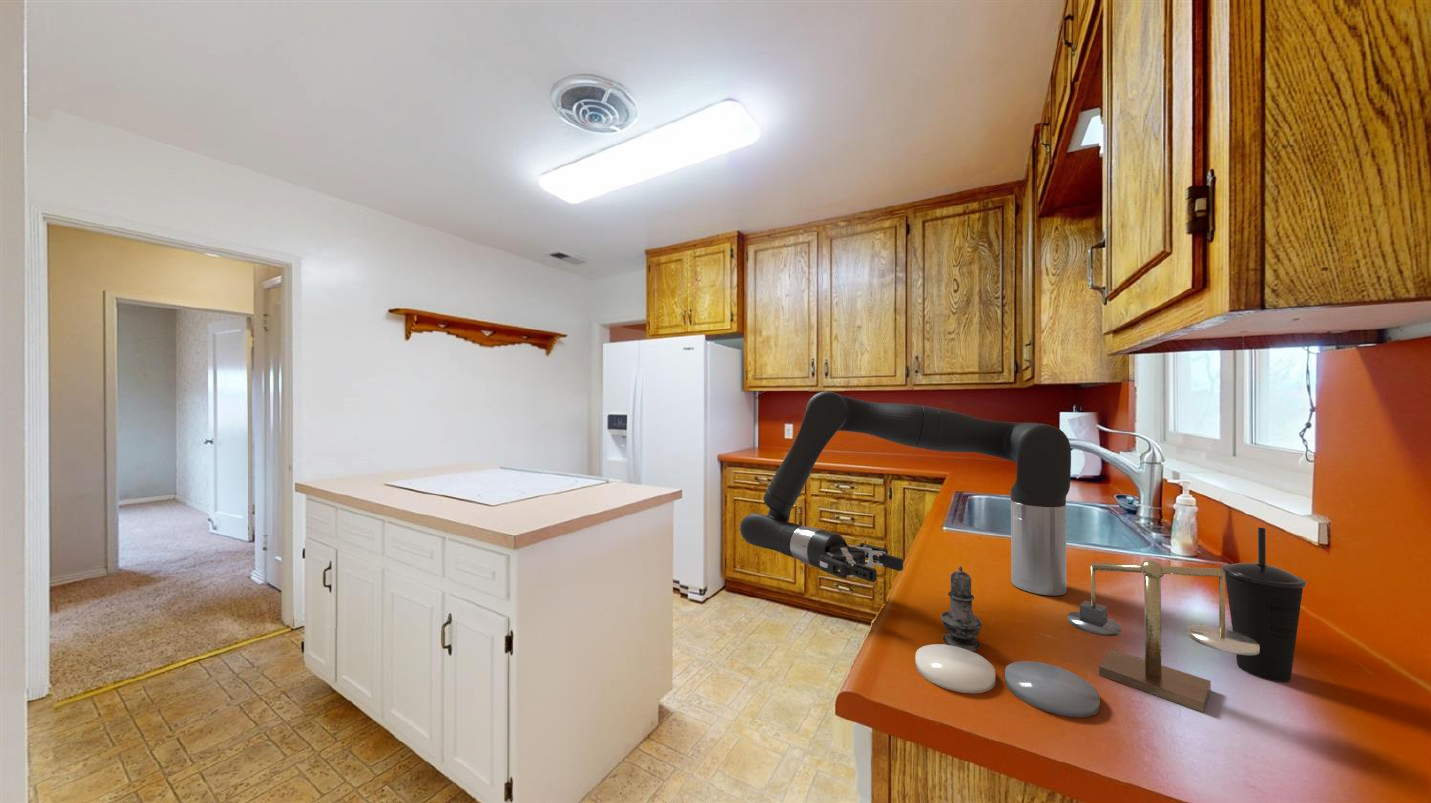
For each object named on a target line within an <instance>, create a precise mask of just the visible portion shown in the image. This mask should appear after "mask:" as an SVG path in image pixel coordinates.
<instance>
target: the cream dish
mask: <svg viewBox="0 0 1431 803" xmlns="http://www.w3.org/2000/svg"><path fill="white" fill-rule="evenodd" d="M914 657H915V668H916V670H917V672H918V673H919V674H920V675H921V676H922V677H923V678H925V680H927V681H929V682H931V683H933V684H934V685H936V686H938V687H940V688H943V689H946V690H949V691H953V692H957V693H962V694H982V693H983V694H984V693H987V692H989V691H991V690H992V689H993V688H995V686H996V669H995V668H994V665H993V664H992V663H991V662H990V661H988V660H987V659H986V658H984V657H983V656H982V655H980V654H979V653H976V652H974V651H969V650H966V649H963V648H960V647H956V646H951V645H948V644H942V643H941V644H939V643H938V644H937V643H936V644H935V643H933V644H927V645H923V646H921V647H919V648H918V649H917V651H916V652H915V656H914Z"/></svg>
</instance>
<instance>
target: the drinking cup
mask: <svg viewBox="0 0 1431 803" xmlns="http://www.w3.org/2000/svg"><path fill="white" fill-rule="evenodd" d="M1266 537H1267V536H1266V528H1265V527H1258V528H1257V545H1258V546H1257V547H1258V548H1257V553H1258V554H1257V559H1258V561H1257V562H1238V563H1237V562H1236V563H1232V564H1230V563H1228V564H1225V565H1222V566H1221V570H1222V572H1223V573H1225V587H1226V592H1227V599H1228V600H1227V601H1228V607H1229V608H1228V609H1229V614H1230V621H1231V630H1232V631H1234V632H1237V633H1239V634H1242V635H1245V636H1247V637H1249V638H1251V639H1253V640H1255V641H1256V642H1257V643H1258V644H1259V645H1260V653H1259V654H1257V655H1238V654H1235V657H1236V664H1237V667H1238V668H1239V669H1241V670H1242V671H1244V672H1246V673H1247V674H1249V675H1251V676H1255V677H1257V678H1261V679H1264V680H1268V681H1273V682H1280V683H1288V682H1290V681H1291V680H1292V679H1291V678H1292V674H1293V673H1292V672H1293V665H1294V657H1295V649H1296V643H1297V642H1296V641H1297V636H1298V635H1297V634H1298V628H1299V621H1300V612H1301V605H1302V598H1303V590H1304V588H1306V587H1307V580H1305V579H1304V578H1302V577H1300V576H1297V575H1295V574H1293V573H1291V572H1289V571H1287V570H1284V569H1282V568H1279V567H1276V566H1272V565H1269V564H1267V562H1266V561H1267V560H1266V559H1267V558H1266V557H1267V554H1266V552H1267V550H1266V549H1267V548H1266V547H1267V546H1266V539H1267V538H1266Z"/></svg>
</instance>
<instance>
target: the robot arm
mask: <svg viewBox="0 0 1431 803" xmlns="http://www.w3.org/2000/svg"><path fill="white" fill-rule="evenodd" d="M839 431H840V432H851V433H859V434H864V435H865V434H866V435H870V436H874V437H877V438H880V439H883V440H885V441H889V442H893V443H896V444H898V445H902V446H907V447H911V448H916V449H923V450H929V451H936V452H945V453H974V454H975V453H977V454H983V455H987V456H991V457H996V458H1000V459H1002V460H1006V461H1007V460H1008V461H1010V462H1013V463H1016V480H1015V483H1014V484H1013V485H1012V486H1011V487H1010V532H1011V533H1010V537H1011V538H1010V542H1011V544H1010V547H1011V548H1010V549H1011V551H1010V552H1011V557H1010V558H1011V564H1010V566H1011V568H1010V570H1011V572H1010V575H1011V584H1012V585H1013V586H1015V587H1016V588H1018V589H1020V590H1023V591H1026V592H1028V593H1032V594H1037V595H1043V596H1053V597H1054V596H1055V597H1056V596H1062V595H1066V594H1067V590H1068V588H1067V587H1068V586H1067V585H1068V584H1067V571H1068V570H1067V508H1066V506H1067V500H1066V499H1067V496H1068V494H1069V491H1070V487H1071V475H1072V474H1071V473H1072V472H1071V471H1072V470H1071V469H1072V449H1071V448H1072V447H1071V443H1070V440H1069V438H1068V436H1067V435H1066V433H1065V432H1064V431H1063V430H1061V429H1060V428H1058V427H1057V426H1053V425H1051V424H1046V423H1039V422H1013V421H1012V422H1010V421H999V420H997V421H996V420H988V419H982V418H978V417H974V416H971V415H968V414H966V413H965V414H964V413H961V412H957V411H953V410H949V409H944V408H940V407H935V406H934V407H933V406H927V405H919V404H909V403H898V402H897V403H895V402H893V403H892V402H872V401H866V400H861V399H856V398H852V397H848V396H846V395H843V394H842V395H841V394H838V393H836V392H834V391H830V390H829V391H827V390H825V391H824V390H823V391H820V392H817V393H816V394H813V396H812V397H811V398H810V399H809V400H808V402H807V404H806V406H805V413H804V416H803V419H802V423H801V425H800V428H799V431H798V432H797V435H796V437H795V438H794V442H793V444H792V446H791V447H790V449H789V451H788V453H787V454H786V456H785V458H784V459H783V460H782V462H781V463H780V465H779V467H778V469H777V471H776V472H775V474H774V476H773V478H772V480H771V481H770V483H769V485H768V487H767V489H765V490H766V491H765V493H764V494H763V498H762V499H763V503H764V505H766V506H767V508H769V509H768V513H767V514H761V513H757V512H756V513H754V512H753V513H749V514H748V515H746V516H745V517H744V518H743V519H742V520H741V521H740V526H739V531H740V535H741V537H742V539H743V540H744V541H745V542H746V543H747V544H749V545H753V546H755V547H759V548H763V549H768V550H772V551H776V552H778V553H780V554H783V555H785V556H787V557H791V558H793V559H796V560H797V561H800V562H801V563H803V564H805V565H809V566H811V567H814V568H816V569H819V570H820V571H823V572H825V573H827V574H830V575H831V576H835V577H837V578H839V579H847V578H848V576H849V577H850V578H860V579H861V580H865V581H868V582H870V583H874V582H877V579H878V577H877V574H878V572H877V569H876V568H873V567H874V566H880V567H881V566H882V567H884V568H887V569H891V570H895V571H898V572H901V571H903V570H904V560H903V559H902V558H901V557H898V556H894V555H890V554H889V553H888V552H889V549H887V548H884V547H879V546H876V545H871V544H868V543H864V542H860V543H859V546H857V545H856V544H855V545H854V544H848V543H847V542H846V540H845V538H844V537H843V535H841V534H840V533H839V534H838V533H835V532H831V531H829V530H826V529H825V530H823V529H820V528H817V527H812V526H806V525H805V526H804V525H803V524H798V523H794V522H789V521H790V517H791V513H792V508H793V507H794V505H795V504H796V503H797V500H798V498H799V496H800V494H801V492H802V491H803V489H804V487H805V485H806V483H807V481H808V479H809V476H810V474H811V472H812V471H813V468H814V466H815V464H816V463H817V461H818V458H819V456H821V453H822V452H823V450H824V449H825V448H826V446H827V445H828V443H829V442H830V441H831V440H832V438H833V437H834V436H835V434H837V432H839ZM866 559H868V560H867V561H866Z"/></svg>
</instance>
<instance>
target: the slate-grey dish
mask: <svg viewBox="0 0 1431 803" xmlns="http://www.w3.org/2000/svg"><path fill="white" fill-rule="evenodd" d="M1004 681H1005V684H1006V686H1007V688H1008V689H1009V690H1010V692H1011V693H1012V694H1014V695H1015V697H1017V698H1018V699H1019V700H1021V701H1022V702H1025V703H1027V704H1028V705H1030V706H1033V707H1035V708H1036V709H1039V710H1041V711H1043V712H1044V711H1045V712H1047V713H1050V714H1053V715H1058V716H1061V717H1069V718H1089V717H1092V716H1094V715H1096V714H1098V712H1099V711H1100V704H1101V703H1100V694H1099V692H1098V690H1097V689H1096V688H1095V687H1094V685H1093V684H1091V683H1090V682H1089V681H1087V680H1086V679H1085V678H1082V677H1081V676H1079V675H1077V674H1075V672H1071V671H1070V670H1067V669H1064V668H1062V667H1059V666H1057V665H1056V666H1055V665H1053V664H1049V663H1044V662H1037V661H1030V660H1023V661H1022V660H1019V661H1015V662H1011V663H1010V664H1008V665H1006V667H1005V669H1004Z"/></svg>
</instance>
